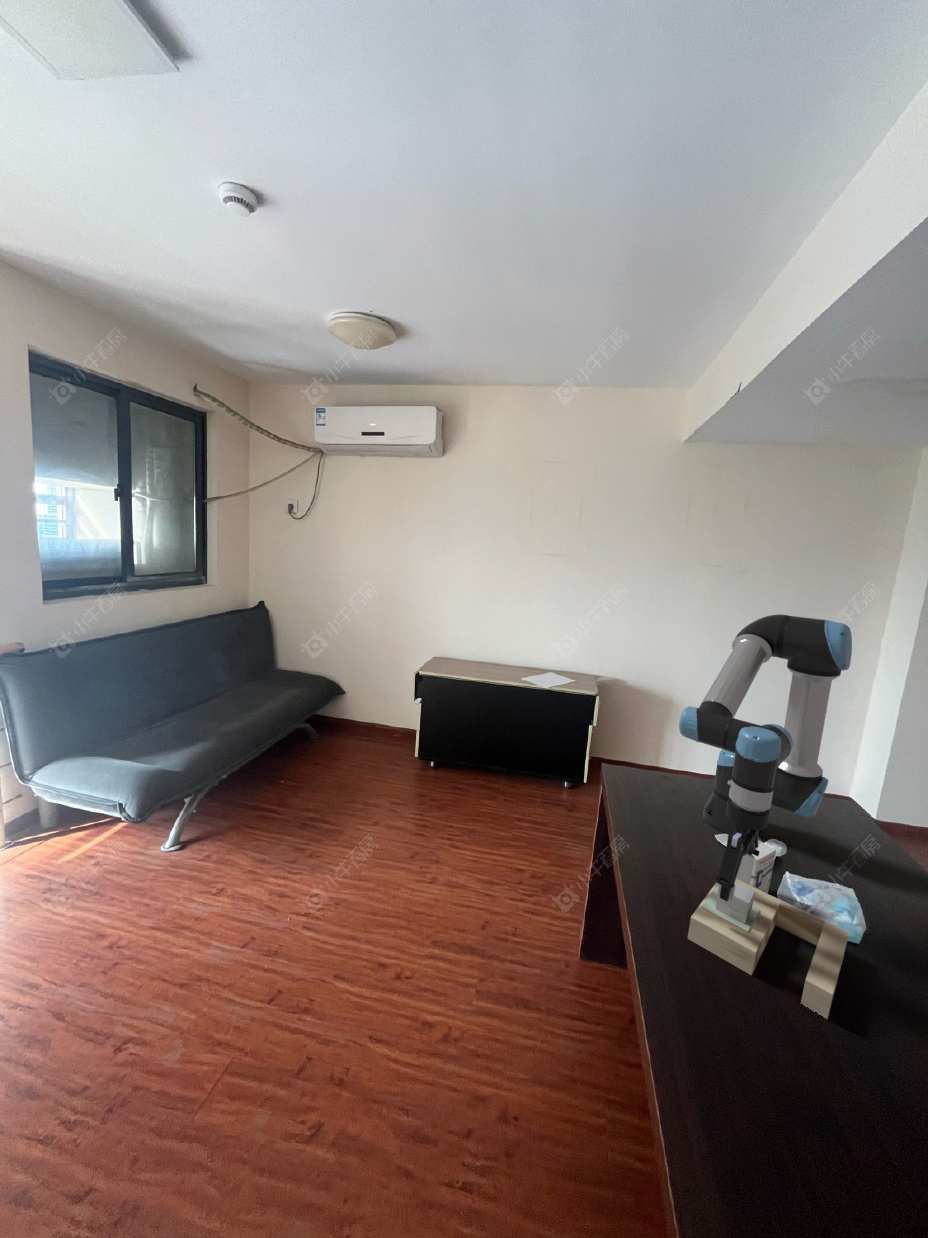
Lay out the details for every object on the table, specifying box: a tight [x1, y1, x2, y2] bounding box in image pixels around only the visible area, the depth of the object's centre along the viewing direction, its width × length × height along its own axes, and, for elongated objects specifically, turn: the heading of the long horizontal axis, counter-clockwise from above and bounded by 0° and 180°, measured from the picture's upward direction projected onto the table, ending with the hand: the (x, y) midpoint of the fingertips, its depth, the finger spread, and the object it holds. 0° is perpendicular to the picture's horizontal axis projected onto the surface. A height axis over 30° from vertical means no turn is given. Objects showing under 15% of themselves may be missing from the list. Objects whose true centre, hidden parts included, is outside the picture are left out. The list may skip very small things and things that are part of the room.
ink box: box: [737, 839, 777, 894], centre depth 118 cm, size 8×5×12 cm, turn 123°
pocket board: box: [687, 879, 850, 1020], centre depth 103 cm, size 21×24×5 cm
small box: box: [730, 881, 755, 923], centre depth 105 cm, size 6×6×5 cm
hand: (733, 895), depth 106 cm, fingers open, 13 cm apart
